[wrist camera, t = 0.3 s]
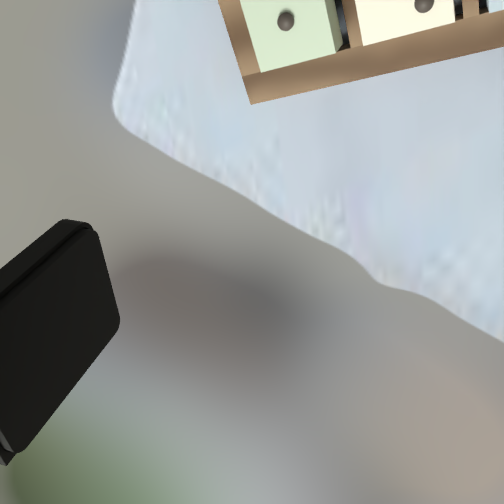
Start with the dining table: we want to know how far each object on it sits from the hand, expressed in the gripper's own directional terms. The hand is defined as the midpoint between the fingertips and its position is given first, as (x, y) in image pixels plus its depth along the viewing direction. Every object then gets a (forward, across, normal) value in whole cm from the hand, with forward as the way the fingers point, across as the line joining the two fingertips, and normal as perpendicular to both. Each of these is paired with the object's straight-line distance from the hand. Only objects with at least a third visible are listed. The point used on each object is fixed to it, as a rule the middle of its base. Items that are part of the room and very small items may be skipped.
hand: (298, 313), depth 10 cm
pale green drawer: (+32, +8, 0) cm, 33 cm away
